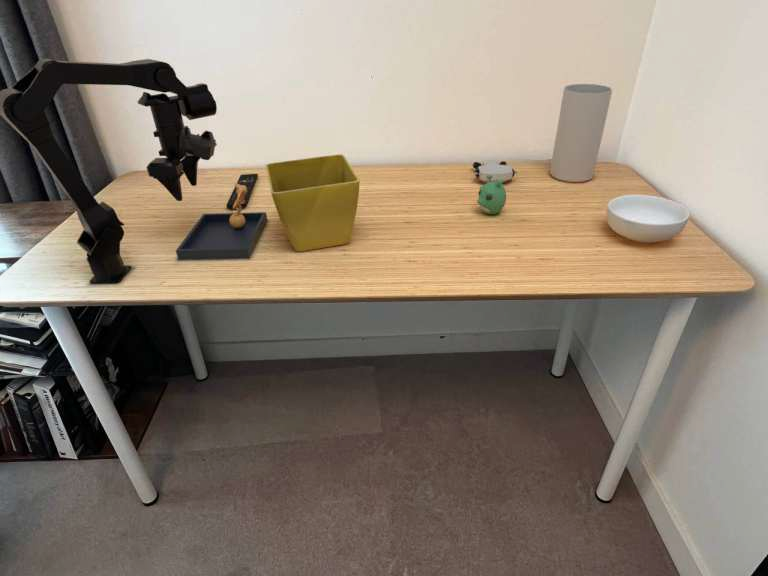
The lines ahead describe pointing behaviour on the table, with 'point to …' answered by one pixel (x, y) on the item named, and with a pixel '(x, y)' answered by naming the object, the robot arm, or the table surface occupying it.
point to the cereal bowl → (646, 218)
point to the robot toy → (493, 170)
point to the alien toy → (492, 196)
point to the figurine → (237, 218)
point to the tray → (222, 237)
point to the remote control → (249, 182)
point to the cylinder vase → (579, 131)
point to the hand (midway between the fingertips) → (187, 192)
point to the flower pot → (315, 200)
